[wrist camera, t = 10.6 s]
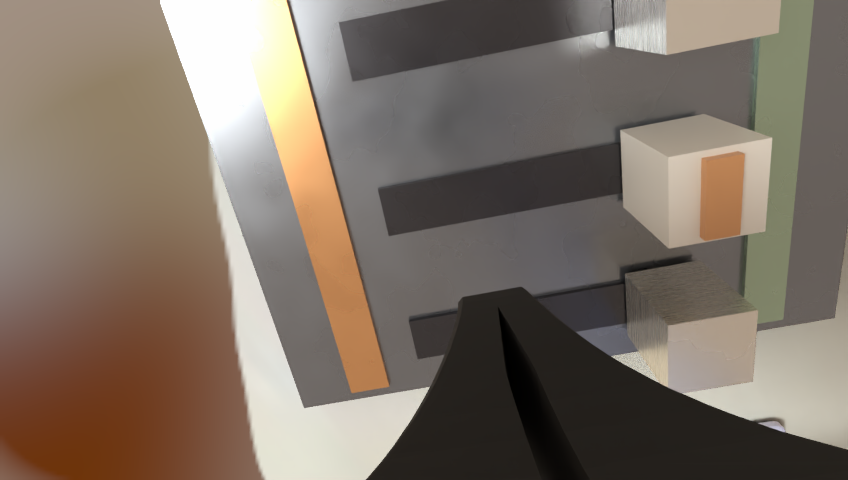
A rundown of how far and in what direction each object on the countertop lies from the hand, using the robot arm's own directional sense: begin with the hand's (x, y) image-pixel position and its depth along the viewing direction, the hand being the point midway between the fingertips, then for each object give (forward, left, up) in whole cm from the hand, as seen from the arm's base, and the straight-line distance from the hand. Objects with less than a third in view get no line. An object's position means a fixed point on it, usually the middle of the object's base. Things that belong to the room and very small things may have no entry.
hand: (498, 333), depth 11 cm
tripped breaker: (0, -7, -8) cm, 11 cm away
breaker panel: (0, -3, -10) cm, 10 cm away
